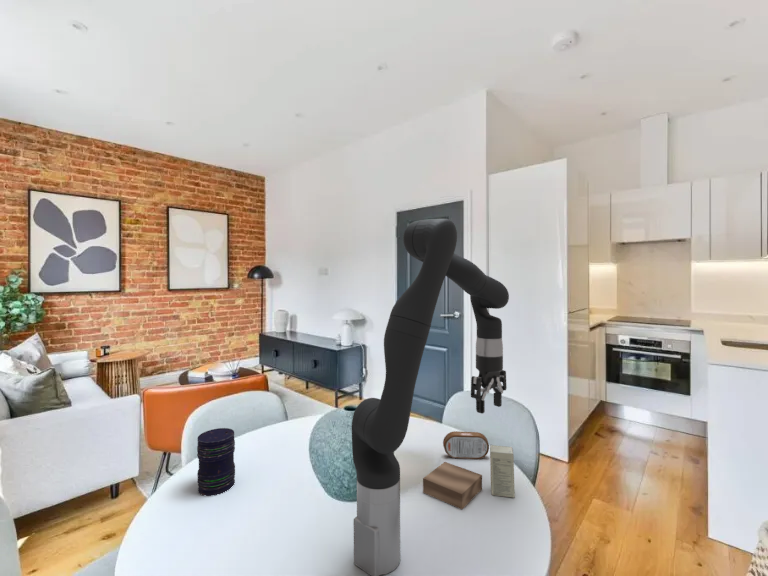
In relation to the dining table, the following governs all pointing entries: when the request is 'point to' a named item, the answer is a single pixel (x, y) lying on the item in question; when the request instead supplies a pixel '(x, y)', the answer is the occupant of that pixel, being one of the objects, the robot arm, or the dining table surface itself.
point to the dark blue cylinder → (216, 461)
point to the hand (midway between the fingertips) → (489, 409)
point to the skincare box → (502, 471)
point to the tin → (466, 445)
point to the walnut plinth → (452, 484)
